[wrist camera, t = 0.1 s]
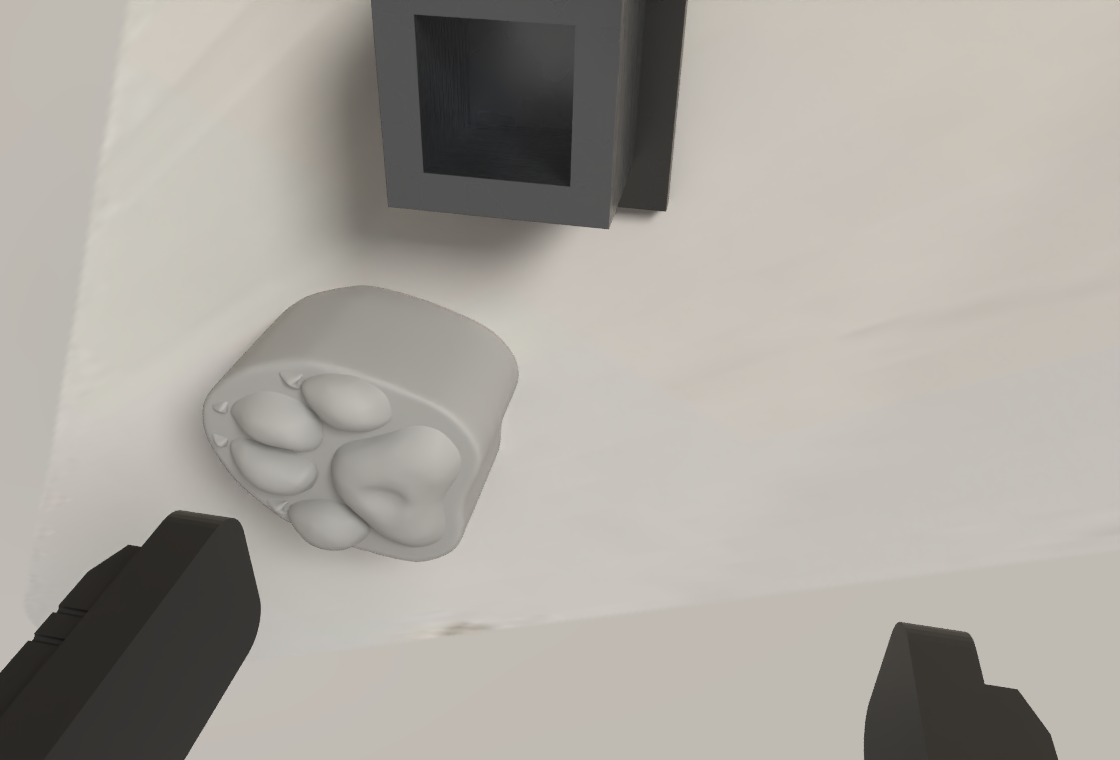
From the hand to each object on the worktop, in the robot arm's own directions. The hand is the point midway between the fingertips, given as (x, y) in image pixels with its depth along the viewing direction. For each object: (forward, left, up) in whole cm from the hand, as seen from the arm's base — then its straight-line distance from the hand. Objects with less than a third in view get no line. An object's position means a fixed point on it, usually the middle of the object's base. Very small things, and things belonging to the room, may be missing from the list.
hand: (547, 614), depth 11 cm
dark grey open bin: (0, -6, -29) cm, 30 cm away
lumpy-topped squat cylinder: (+17, -14, -30) cm, 37 cm away
